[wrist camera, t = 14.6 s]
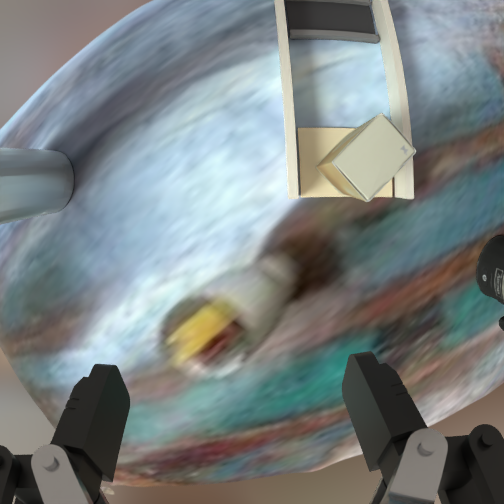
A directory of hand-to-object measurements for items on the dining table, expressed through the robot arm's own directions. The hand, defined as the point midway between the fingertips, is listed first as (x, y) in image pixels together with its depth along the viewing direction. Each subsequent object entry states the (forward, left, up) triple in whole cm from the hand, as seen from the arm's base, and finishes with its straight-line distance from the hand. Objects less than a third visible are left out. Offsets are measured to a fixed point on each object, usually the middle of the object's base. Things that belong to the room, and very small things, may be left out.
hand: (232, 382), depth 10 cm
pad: (+10, +9, -27) cm, 30 cm away
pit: (+10, +28, -27) cm, 40 cm away
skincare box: (+9, +9, -27) cm, 30 cm away
